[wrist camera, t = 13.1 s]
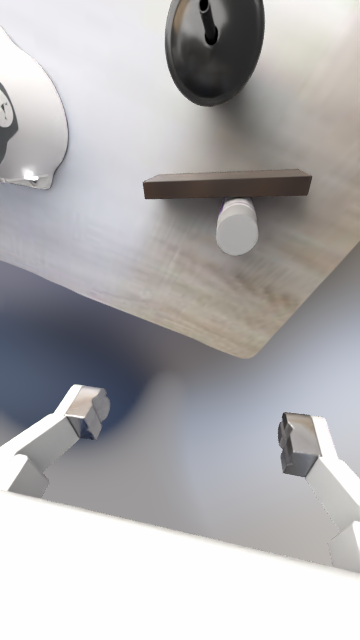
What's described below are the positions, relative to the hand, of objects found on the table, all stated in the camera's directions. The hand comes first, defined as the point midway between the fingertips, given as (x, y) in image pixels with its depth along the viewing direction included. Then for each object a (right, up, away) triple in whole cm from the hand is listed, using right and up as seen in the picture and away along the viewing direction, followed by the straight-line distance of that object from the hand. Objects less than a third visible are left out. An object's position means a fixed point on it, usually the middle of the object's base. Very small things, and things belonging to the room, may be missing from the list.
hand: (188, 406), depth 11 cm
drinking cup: (+5, +34, +18) cm, 39 cm away
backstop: (+6, +25, +25) cm, 35 cm away
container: (+8, +22, +26) cm, 35 cm away
